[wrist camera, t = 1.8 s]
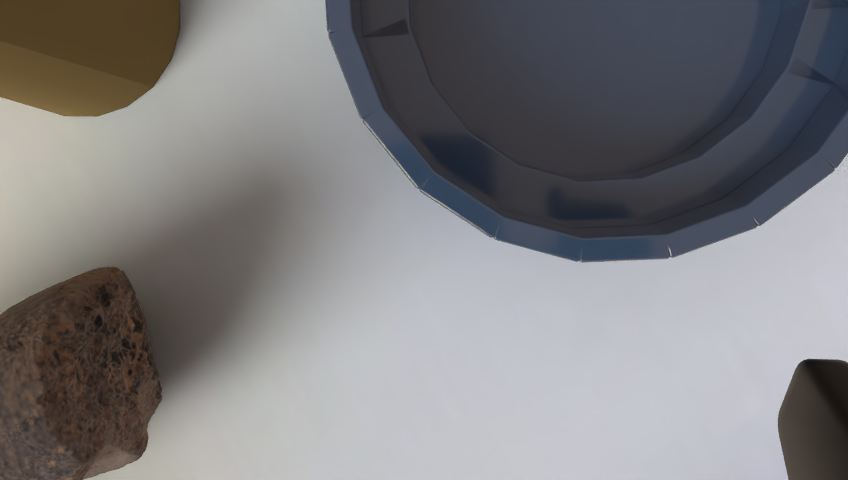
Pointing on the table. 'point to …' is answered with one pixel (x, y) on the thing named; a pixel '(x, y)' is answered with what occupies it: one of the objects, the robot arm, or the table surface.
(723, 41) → the bowl
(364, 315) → the table surface
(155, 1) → the yellow pawn piece
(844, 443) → the robot arm
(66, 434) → the perforated stone tool
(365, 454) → the table surface
